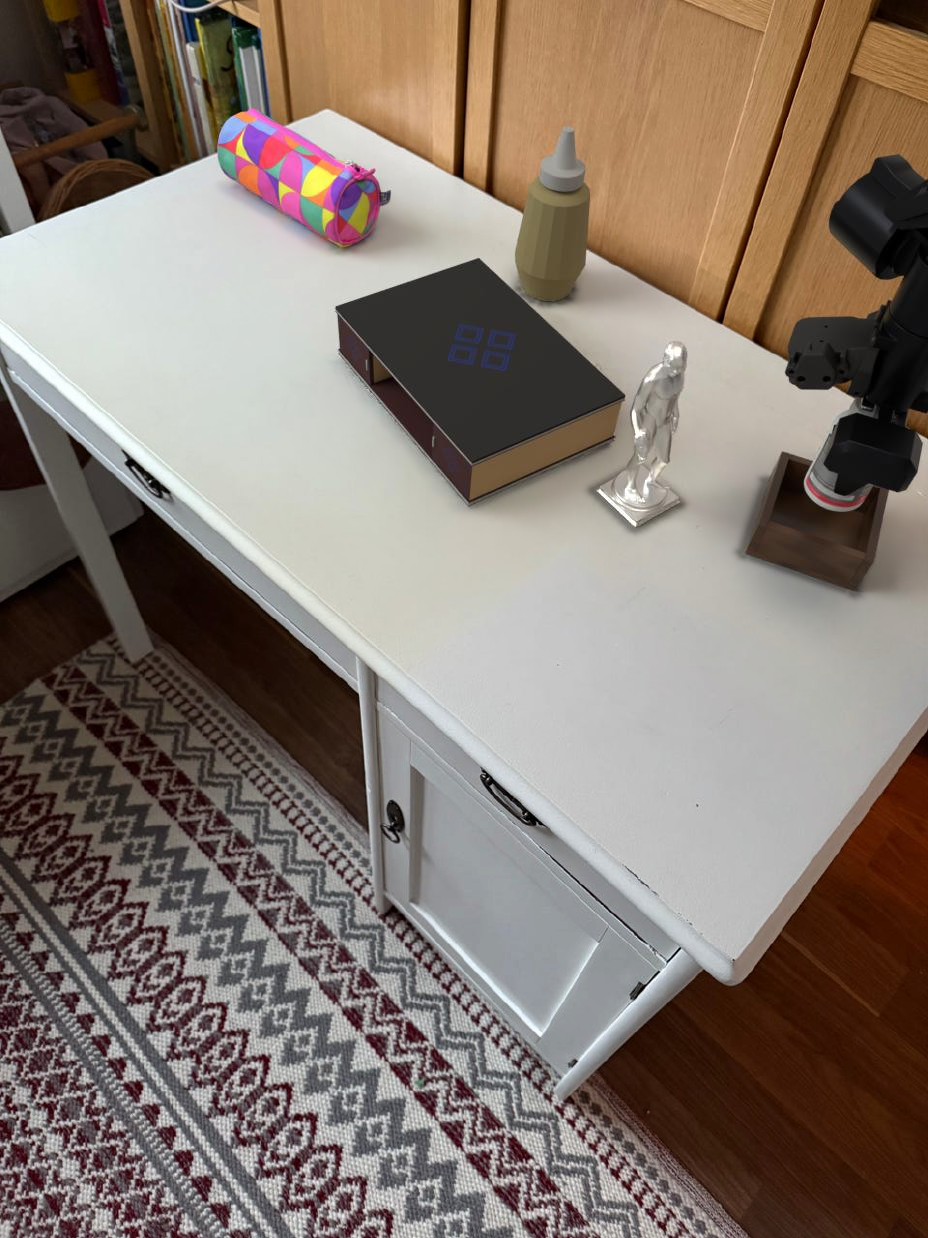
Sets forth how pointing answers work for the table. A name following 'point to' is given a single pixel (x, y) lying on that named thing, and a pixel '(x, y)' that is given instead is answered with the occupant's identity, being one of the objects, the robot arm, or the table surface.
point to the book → (477, 378)
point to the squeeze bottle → (554, 225)
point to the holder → (815, 528)
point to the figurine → (650, 441)
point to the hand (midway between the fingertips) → (845, 471)
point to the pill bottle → (833, 474)
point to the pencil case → (300, 178)
